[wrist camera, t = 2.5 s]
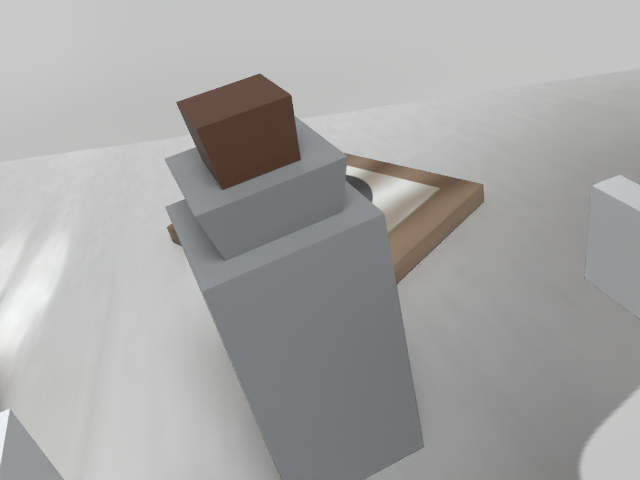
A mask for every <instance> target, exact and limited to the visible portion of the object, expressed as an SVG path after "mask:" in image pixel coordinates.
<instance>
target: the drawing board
mask: <svg viewBox="0 0 640 480" xmlns="http://www.w3.org/2000/svg"><path fill="white" fill-rule="evenodd" d="M344 154H345V155H346V156H348V158H347V168H346V178H345V180H346V181H347V182H348V183H349V184H350V185H352V186H353V187H354V188H355V189H356V190H357V191H359V192H360V193H361V194H362V195H363V196H365V197H366V198H367V199H368V200H369V201H370V202H372V203H373V204H374V205H375V206H376V207H378V208H379V209H380V210H381V211H382V212H383V213H385V219H386V225H387V231H388V237H389V243H390V249H391V255H392V261H393V267H394V273H395V279H396V284H397V283H398V282H399V281H400V280H401V279H402V278H403V277H404V276H406V275H407V274H408V273H409V272H410V271H411V270H412V269H413V268H414V267H415V266H416V265H417V264H418V263H419V262H420V261H421V260H422V259H424V258H425V257H426V256H427V255H428V254H429V253H430V252H431V251H432V250H433V249H434V248H435V247H436V246H437V245H438V244H439V243H440V242H441V241H443V240H444V239H445V238H446V237H447V236H448V235H449V234H450V233H451V232H452V231H453V230H454V229H455V228H456V227H457V226H458V225H459V224H461V223H462V222H463V221H464V220H465V219H466V218H467V217H468V216H469V215H470V214H471V213H472V212H473V211H474V210H475V209H476V208H477V207H478V206H480V205H481V204H482V203H483V202H484V192H483V184H479V183H475V182H470V181H466V180H461V179H457V178H452V177H448V176H444V175H439V174H435V173H430V172H426V171H421V170H417V169H412V168H408V167H404V166H399V165H395V164H390V163H386V162H381V161H377V160H372V159H368V158H363V157H359V156H355V155H350V154H346V153H344ZM167 229H168V231H169V233H170V236H171V238H172V240H173V242H175V243H177V244H179V245H181V243H180V240H179V238H178V236H177V233H176V231H175V229H174V226H173V224H171V225H170V226H168V227H167ZM181 246H182V245H181Z"/></svg>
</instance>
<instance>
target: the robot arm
mask: <svg viewBox="0 0 640 480" xmlns="http://www.w3.org/2000/svg"><path fill="white" fill-rule="evenodd" d="M584 278H585V279H586V280H587V281H589V282H590V283H591V284H593V285H594V286H595V287H597V288H598V289H599V290H601V291H602V292H604V293H605V294H606V295H608V296H609V297H610V298H612V299H613V300H614V301H616V302H617V303H618V304H620V305H621V306H622V307H624V308H625V309H626V310H628V311H629V312H631V313H632V314H633V315H635V316H636V317H637V318H639V319H640V185H639V184H637V183H635V182H633V181H631V180H629V179H627V178H625V177H623V176H621V175H617V176H615V177H612V178H610V179H607V180H604V181H602V182H599V183H597V184H594V185H592V189H591V202H590V214H589V227H588V239H587V252H586V264H585V276H584ZM0 480H64V479H63V478H62V477H61V475H60V474H59V473H58V471H57V470H56V469H55V467H54V466H53V465H52V463H51V462H50V461H49V460H48V458H47V457H46V456H45V454H44V453H43V452H42V450H41V449H40V448H39V446H38V445H37V444H36V442H35V441H34V440H33V439H32V437H31V436H30V435H29V433H28V432H27V431H26V429H25V428H24V427H23V425H22V424H21V423H20V421H19V420H18V419H17V418H16V416H15V415H14V414H13V412H12V411H11V410H10V409H8V410H5V411H3V412H0Z"/></svg>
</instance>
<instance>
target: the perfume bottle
mask: <svg viewBox="0 0 640 480" xmlns="http://www.w3.org/2000/svg"><path fill="white" fill-rule="evenodd" d="M177 105H178V107H179V110H180V112H181V114H182V116H183V118H184V121H185V123H186V125H187V127H188V129H189V132H190V134H191V136H192V138H193V141H194V143H195V145H196V148H193V149H190V150H187V151H185V152H182V153H179V154H176V155H174V156H171V157H168V158H165V161H166V163H167V165H168V167H169V169H170V171H171V173H172V174H173V176H174V178H175V180H176V182H177V184H178V186H179V188H180V190H181V192H182V194H183V195H184V197H185V199H184V200H182V201H179V202H177V203H174V204H171V205H169V206H166V210H167V212H168V214H169V217H170V219H171V222H172V224H173V226H174V229H175V231H176V233H177V236H178V238H179V240H180V243H181V245H182V247H183V250H184V252H185V255H186V257H187V259H188V262H189V264H190V266H191V269H192V271H193V273H194V276H195V278H196V280H197V283H198V285H199V288H200V290H201V292H202V295H203V297H204V299H205V302H206V304H207V306H208V309H209V311H210V313H211V316H212V318H213V321H214V323H215V325H216V328H217V330H218V332H219V335H220V337H221V339H222V342H223V344H224V346H225V349H226V351H227V354H228V356H229V358H230V361H231V363H232V365H233V368H234V370H235V372H236V375H237V377H238V379H239V382H240V384H241V387H242V389H243V391H244V394H245V396H246V398H247V401H248V403H249V405H250V408H251V410H252V412H253V415H254V417H255V419H256V422H257V424H258V426H259V429H260V431H261V433H262V436H263V438H264V440H265V443H266V445H267V447H268V449H269V452H270V454H271V456H272V459H273V461H274V463H275V466H276V468H277V470H278V473H279V475H280V477H281V480H363V479H365V478H367V477H369V476H371V475H373V474H374V473H376V472H378V471H380V470H382V469H384V468H385V467H387V466H389V465H391V464H393V463H395V462H396V461H398V460H400V459H402V458H404V457H406V456H407V455H409V454H411V453H413V452H415V451H417V450H418V449H420V448H422V447H424V445H423V439H422V433H421V427H420V421H419V415H418V409H417V403H416V397H415V392H414V386H413V380H412V374H411V368H410V362H409V356H408V350H407V344H406V338H405V332H404V326H403V320H402V314H401V308H400V302H399V297H398V291H397V285H396V279H395V273H394V267H393V261H392V255H391V249H390V243H389V237H388V231H387V225H386V219H385V213H383V212H382V211H381V210H380V209H379V208H378V207H376V206H375V205H374V204H373V203H372V202H370V201H369V200H368V199H367V198H366V197H365V196H363V195H362V194H361V193H360V192H359V191H357V190H356V189H355V188H354V187H353V186H352V185H350V184H349V183H348V182H347V181H346V180H345V178H346V168H347V158H348V156H346V155H345V154H344V153H342V152H341V151H340V150H338V149H337V148H336V147H335V146H333V145H332V144H331V143H329V142H328V141H327V140H325V139H324V138H323V137H321V136H320V135H319V134H317V133H316V132H315V131H314V130H312V129H311V128H310V127H308V126H307V125H306V124H304V123H303V122H302V121H300V120H299V119H298V118H296V117H295V116H294V110H293V104H292V97H291V95H290V94H289V93H287V92H286V91H284V90H283V89H282V88H280V87H279V86H277V85H276V84H274V83H273V82H271V81H270V80H268V79H267V78H266V77H264V76H263V75H261V74H257V75H254V76H252V77H249V78H246V79H243V80H240V81H237V82H234V83H231V84H229V85H225V86H223V87H220V88H217V89H214V90H211V91H208V92H205V93H202V94H199V95H196V96H193V97H190V98H187V99H185V100H182V101H179V102H177Z"/></svg>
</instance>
